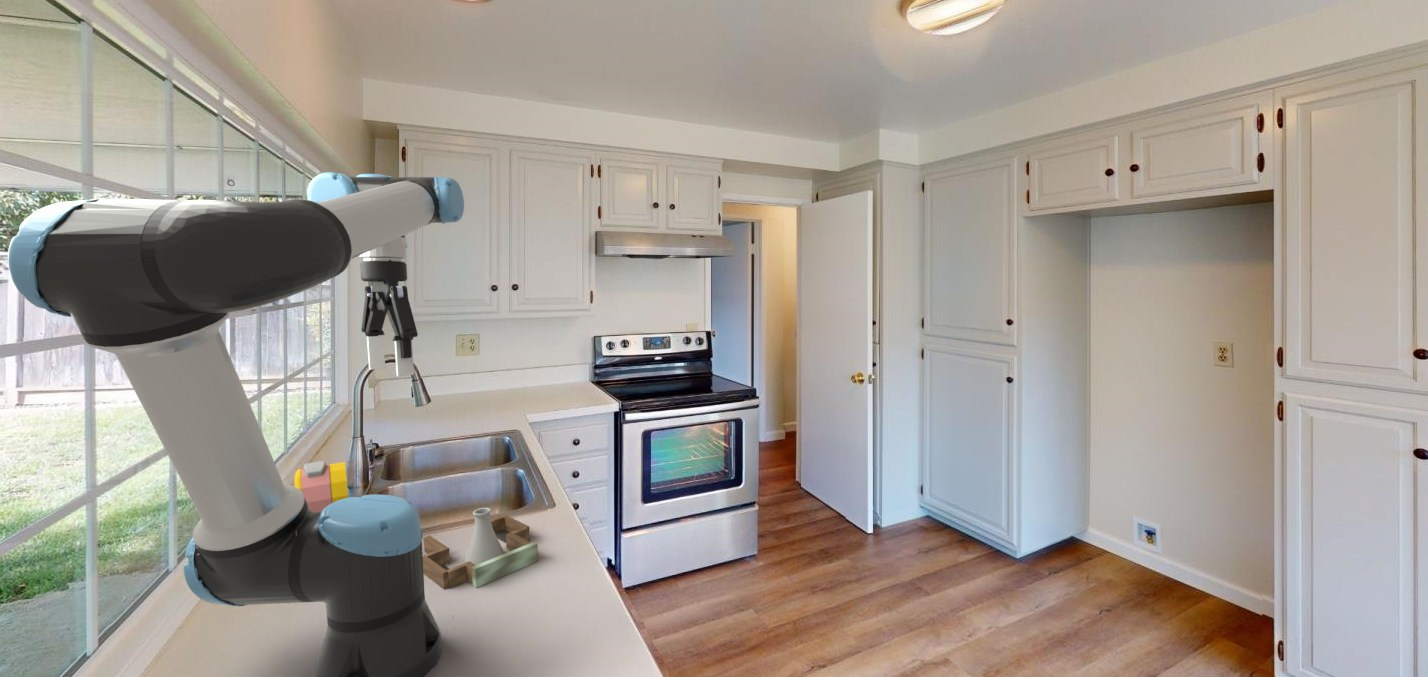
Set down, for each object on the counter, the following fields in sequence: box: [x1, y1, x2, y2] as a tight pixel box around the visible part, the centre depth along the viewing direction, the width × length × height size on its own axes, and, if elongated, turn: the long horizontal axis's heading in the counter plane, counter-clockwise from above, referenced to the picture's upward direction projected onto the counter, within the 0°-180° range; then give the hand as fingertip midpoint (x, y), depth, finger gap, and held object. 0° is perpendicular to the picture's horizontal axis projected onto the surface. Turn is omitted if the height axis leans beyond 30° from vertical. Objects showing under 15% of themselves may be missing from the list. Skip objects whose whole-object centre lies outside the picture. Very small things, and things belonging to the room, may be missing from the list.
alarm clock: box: [293, 460, 349, 512], centre depth 111 cm, size 15×8×18 cm, turn 36°
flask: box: [462, 507, 506, 565], centre depth 107 cm, size 7×7×10 cm
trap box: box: [423, 514, 539, 590], centre depth 109 cm, size 20×21×4 cm
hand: (390, 372), depth 106 cm, fingers open, 13 cm apart
